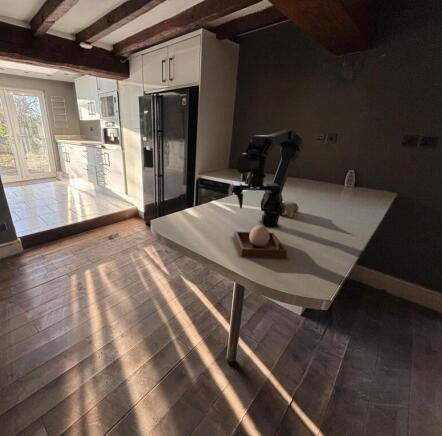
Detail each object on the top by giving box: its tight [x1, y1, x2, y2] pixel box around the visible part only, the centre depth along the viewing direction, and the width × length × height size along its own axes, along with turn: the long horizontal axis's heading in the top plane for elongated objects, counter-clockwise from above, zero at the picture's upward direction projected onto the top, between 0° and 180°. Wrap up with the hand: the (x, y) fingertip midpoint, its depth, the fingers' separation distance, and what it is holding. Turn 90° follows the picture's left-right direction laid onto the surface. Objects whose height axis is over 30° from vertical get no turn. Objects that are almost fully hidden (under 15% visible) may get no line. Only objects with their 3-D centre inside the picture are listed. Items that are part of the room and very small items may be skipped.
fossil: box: [282, 200, 299, 219], centre depth 124 cm, size 15×10×10 cm
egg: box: [249, 224, 270, 247], centre depth 87 cm, size 7×7×8 cm
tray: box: [233, 230, 288, 259], centre depth 88 cm, size 16×15×3 cm
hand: (251, 208), depth 95 cm, fingers open, 9 cm apart
